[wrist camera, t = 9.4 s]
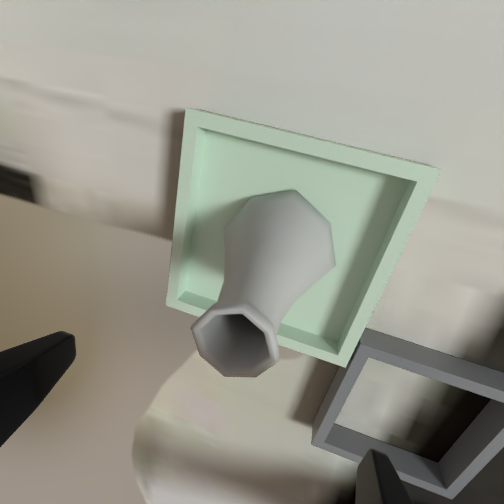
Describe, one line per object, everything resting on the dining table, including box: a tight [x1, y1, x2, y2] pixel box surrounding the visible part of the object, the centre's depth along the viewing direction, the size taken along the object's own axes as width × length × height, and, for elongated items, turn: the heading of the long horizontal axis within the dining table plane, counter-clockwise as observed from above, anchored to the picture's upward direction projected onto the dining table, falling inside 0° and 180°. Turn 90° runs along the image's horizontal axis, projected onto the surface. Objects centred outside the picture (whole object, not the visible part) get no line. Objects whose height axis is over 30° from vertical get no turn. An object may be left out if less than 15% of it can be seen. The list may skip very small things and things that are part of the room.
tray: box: [166, 108, 441, 368], centre depth 19 cm, size 14×14×2 cm
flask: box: [191, 190, 336, 377], centre depth 15 cm, size 7×7×10 cm
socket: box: [311, 328, 504, 499], centre depth 22 cm, size 11×11×2 cm
